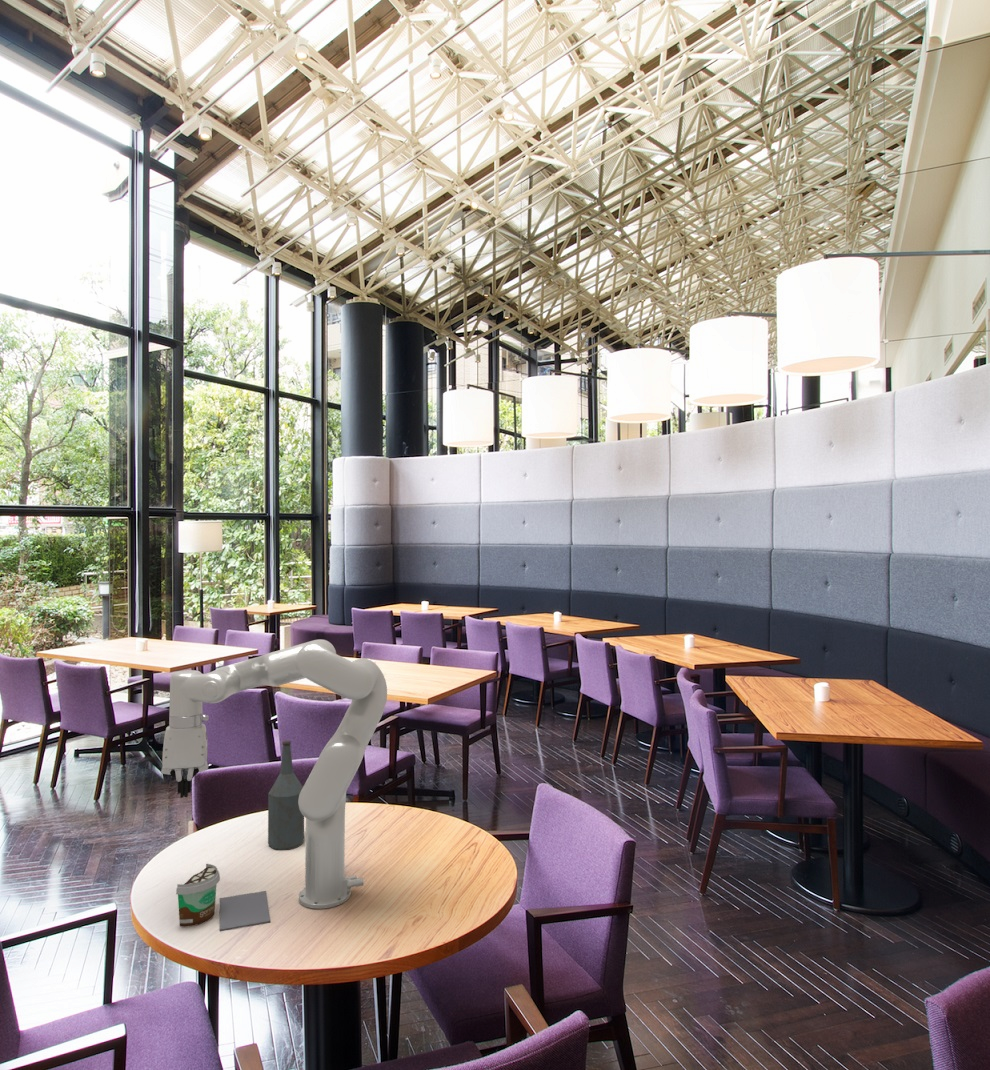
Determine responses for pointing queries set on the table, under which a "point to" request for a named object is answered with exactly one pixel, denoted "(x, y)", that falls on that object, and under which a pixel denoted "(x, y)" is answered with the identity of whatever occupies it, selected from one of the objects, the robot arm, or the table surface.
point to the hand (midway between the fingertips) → (184, 795)
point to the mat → (244, 910)
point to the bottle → (285, 807)
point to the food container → (198, 897)
